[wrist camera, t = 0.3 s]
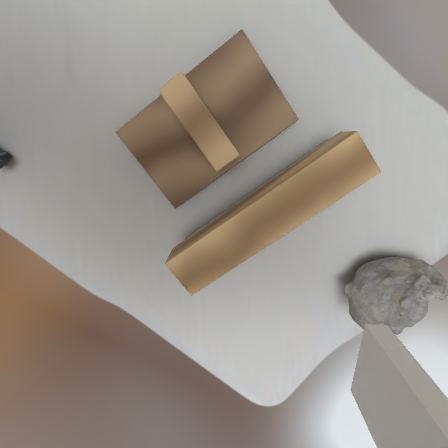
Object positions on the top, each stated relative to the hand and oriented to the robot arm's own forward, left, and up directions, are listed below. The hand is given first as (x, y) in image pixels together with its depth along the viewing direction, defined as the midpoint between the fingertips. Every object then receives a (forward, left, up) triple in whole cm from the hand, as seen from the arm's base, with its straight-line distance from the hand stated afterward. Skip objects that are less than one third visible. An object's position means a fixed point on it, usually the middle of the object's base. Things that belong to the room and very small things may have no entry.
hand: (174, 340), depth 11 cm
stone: (+18, +10, -25) cm, 33 cm away
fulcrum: (-7, +4, -25) cm, 26 cm away
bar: (+3, +4, -21) cm, 22 cm away
